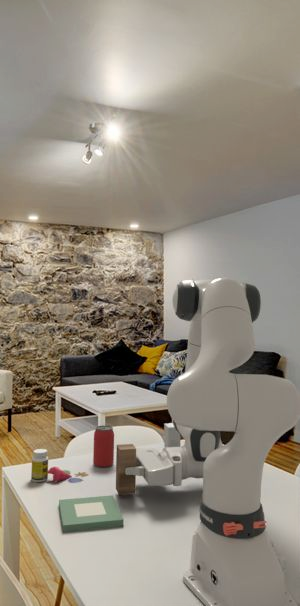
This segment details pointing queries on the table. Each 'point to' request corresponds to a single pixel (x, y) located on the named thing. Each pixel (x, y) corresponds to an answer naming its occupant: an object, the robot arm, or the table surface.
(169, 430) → the skincare box
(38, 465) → the supplement bottle
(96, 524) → the plate
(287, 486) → the table surface
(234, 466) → the robot arm
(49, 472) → the toy pieces
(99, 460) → the beer can
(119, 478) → the walnut block
